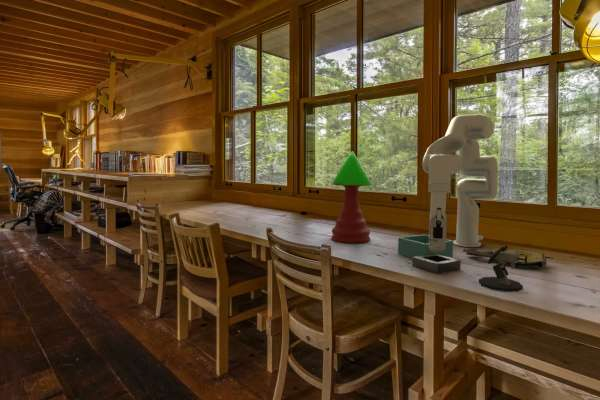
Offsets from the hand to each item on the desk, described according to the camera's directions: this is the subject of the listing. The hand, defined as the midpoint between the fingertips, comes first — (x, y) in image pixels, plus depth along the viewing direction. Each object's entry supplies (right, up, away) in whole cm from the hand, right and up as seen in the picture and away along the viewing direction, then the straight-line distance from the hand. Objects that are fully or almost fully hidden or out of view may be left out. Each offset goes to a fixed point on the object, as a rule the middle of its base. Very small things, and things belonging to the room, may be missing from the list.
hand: (437, 236), depth 144 cm
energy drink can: (0, -6, +1) cm, 6 cm away
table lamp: (-25, -7, +53) cm, 59 cm away
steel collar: (0, -12, +1) cm, 12 cm away
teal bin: (+2, -10, +20) cm, 23 cm away
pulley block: (+30, -12, +9) cm, 34 cm away
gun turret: (+11, -14, -17) cm, 25 cm away
